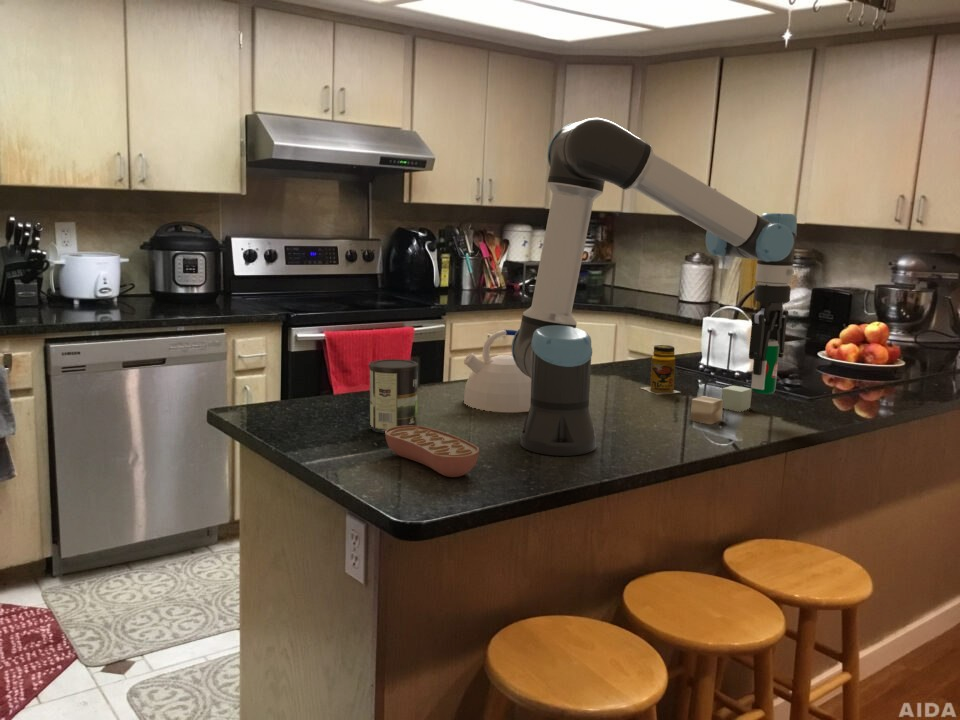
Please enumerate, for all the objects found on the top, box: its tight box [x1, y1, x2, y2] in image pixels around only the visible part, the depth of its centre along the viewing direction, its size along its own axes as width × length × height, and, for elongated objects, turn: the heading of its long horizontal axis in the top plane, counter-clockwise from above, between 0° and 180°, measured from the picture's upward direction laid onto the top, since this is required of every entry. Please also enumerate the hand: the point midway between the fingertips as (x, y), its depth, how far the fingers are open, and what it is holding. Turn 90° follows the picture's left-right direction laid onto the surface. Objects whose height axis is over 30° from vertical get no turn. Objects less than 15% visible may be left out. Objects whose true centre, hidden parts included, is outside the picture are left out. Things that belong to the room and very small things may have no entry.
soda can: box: [751, 339, 779, 395], centre depth 189 cm, size 5×5×12 cm
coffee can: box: [368, 358, 419, 431], centre depth 178 cm, size 10×10×14 cm
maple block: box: [689, 395, 723, 425], centre depth 190 cm, size 5×5×5 cm
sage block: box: [721, 385, 753, 413], centre depth 202 cm, size 5×5×5 cm
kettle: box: [463, 329, 531, 414], centre depth 202 cm, size 20×21×18 cm
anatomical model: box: [384, 425, 480, 478], centre depth 154 cm, size 23×10×5 cm, turn 39°
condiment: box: [640, 344, 680, 395], centre depth 220 cm, size 7×8×12 cm
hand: (763, 386), depth 190 cm, fingers closed on soda can, 5 cm apart
